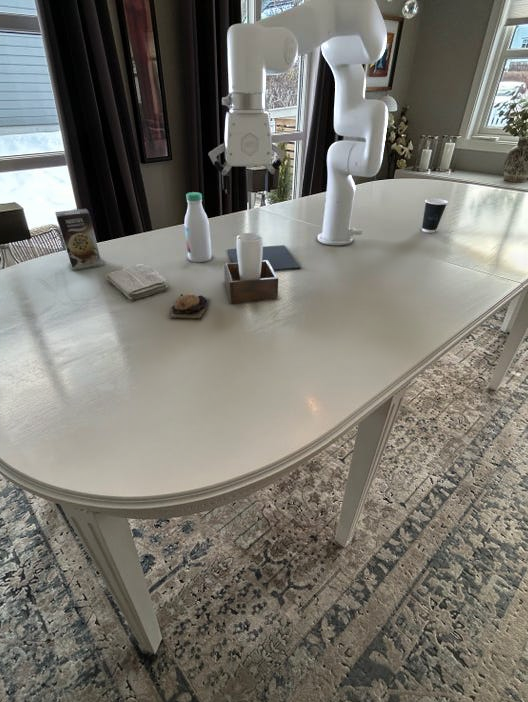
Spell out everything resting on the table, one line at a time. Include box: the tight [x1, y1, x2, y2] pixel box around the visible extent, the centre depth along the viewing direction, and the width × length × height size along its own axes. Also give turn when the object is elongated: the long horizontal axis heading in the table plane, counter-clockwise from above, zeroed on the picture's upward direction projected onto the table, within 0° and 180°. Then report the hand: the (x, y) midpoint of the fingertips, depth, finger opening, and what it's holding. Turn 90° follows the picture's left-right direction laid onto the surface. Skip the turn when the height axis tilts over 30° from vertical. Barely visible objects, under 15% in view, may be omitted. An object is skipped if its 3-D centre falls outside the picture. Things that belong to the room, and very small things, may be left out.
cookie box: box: [54, 208, 103, 271], centre depth 113 cm, size 9×6×16 cm
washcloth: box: [106, 263, 169, 301], centre depth 104 cm, size 12×18×3 cm, turn 39°
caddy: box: [223, 260, 279, 304], centre depth 100 cm, size 13×13×6 cm
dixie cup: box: [421, 198, 449, 234], centre depth 140 cm, size 8×8×11 cm
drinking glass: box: [236, 232, 264, 280], centre depth 98 cm, size 7×7×15 cm
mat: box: [227, 244, 301, 272], centre depth 120 cm, size 20×20×1 cm
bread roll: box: [170, 293, 208, 320], centre depth 93 cm, size 11×8×4 cm
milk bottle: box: [184, 191, 212, 263], centre depth 115 cm, size 8×8×20 cm
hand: (247, 192), depth 87 cm, fingers open, 9 cm apart
